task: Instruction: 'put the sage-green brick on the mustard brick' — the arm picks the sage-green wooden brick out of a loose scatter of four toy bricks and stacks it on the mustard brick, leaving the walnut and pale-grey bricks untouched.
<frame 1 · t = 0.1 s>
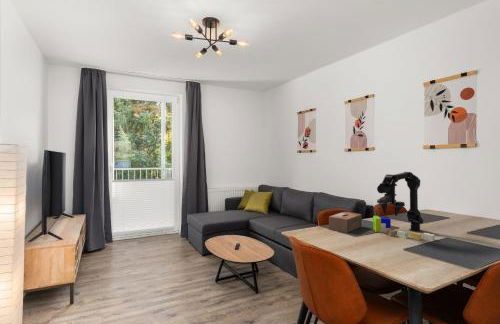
hand: (390, 214, 201), 14 cm above the table, fingers open, 9 cm apart
mustard brick: (415, 238, 193), on the table
grey brick: (428, 239, 192), on the table
tissue box cover: (345, 228, 222), on the table
puzzle toy: (381, 231, 213), on the table
walnut brick: (389, 235, 201), on the table
sage brick: (402, 237, 197), on the table
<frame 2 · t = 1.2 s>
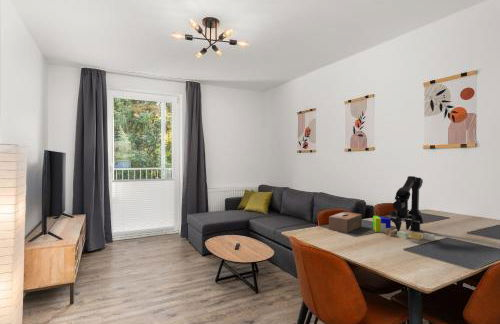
hand: (402, 230, 197), 4 cm above the table, fingers open, 9 cm apart
nothing on the table moved.
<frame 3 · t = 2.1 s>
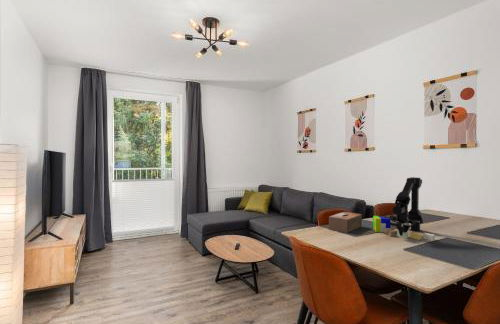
hand: (402, 235, 197), 1 cm above the table, fingers closed on sage brick, 3 cm apart
sage brick: (402, 237, 197), on the table, touching gripper
everything else where it was.
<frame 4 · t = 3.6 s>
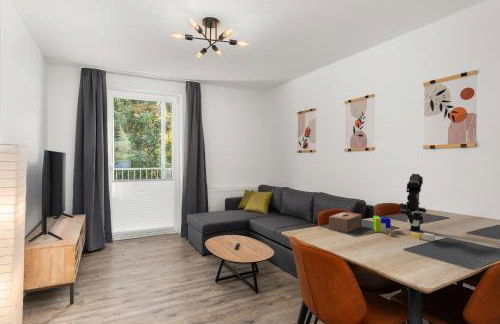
hand: (413, 223, 194), 10 cm above the table, fingers closed on sage brick, 3 cm apart
sage brick: (412, 225, 194), point 9 cm above the table, touching gripper
everything else where it was.
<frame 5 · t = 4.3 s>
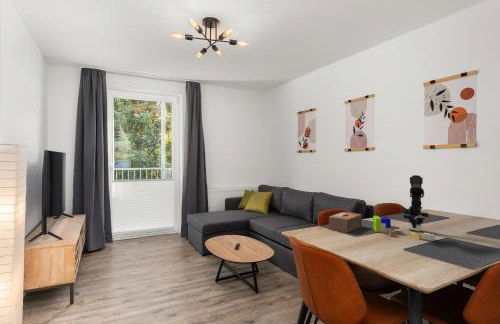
hand: (415, 228, 193), 7 cm above the table, fingers closed on sage brick, 3 cm apart
sage brick: (415, 229, 193), point 6 cm above the table, touching gripper
everything else where it was.
when the fingers open (6 cm above the table, at t = 4.7 s): sage brick drops 1 cm, resting on mustard brick.
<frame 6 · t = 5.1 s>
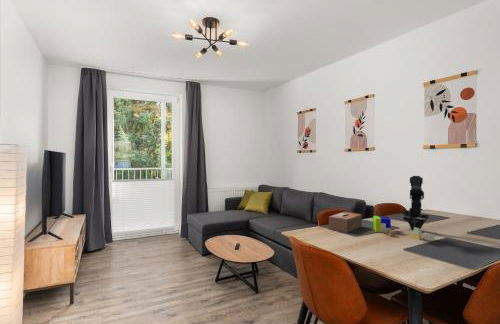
hand: (415, 230, 193), 6 cm above the table, fingers open, 7 cm apart
mustard brick: (415, 238, 193), on the table, touching sage brick
sage brick: (415, 233, 193), point 3 cm above the table, touching mustard brick
everything else where it was.
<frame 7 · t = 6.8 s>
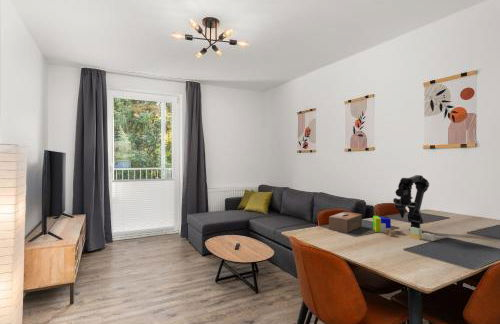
hand: (406, 217, 205), 12 cm above the table, fingers open, 9 cm apart
nothing on the table moved.
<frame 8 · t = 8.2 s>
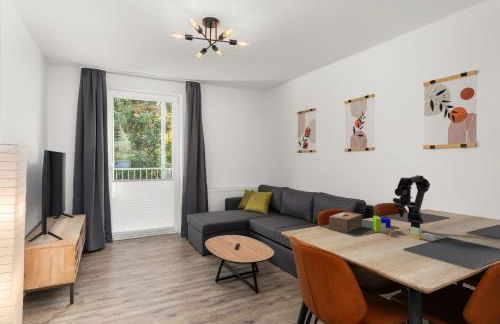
hand: (405, 216, 205), 12 cm above the table, fingers open, 9 cm apart
nothing on the table moved.
at the end: sage brick 0.0 cm off-centre on the mustard brick, point 3.5 cm above the mustard brick's base; walnut brick moved 0.2 cm from its start; grey brick moved 0.2 cm from its start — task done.
